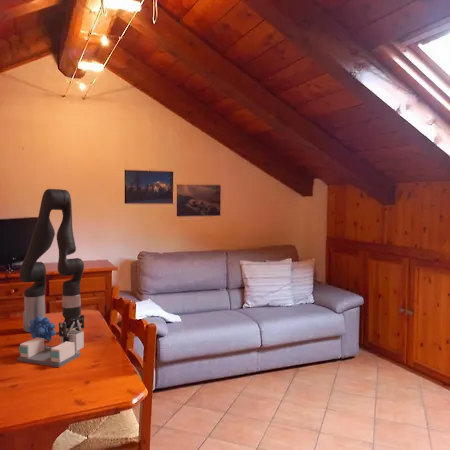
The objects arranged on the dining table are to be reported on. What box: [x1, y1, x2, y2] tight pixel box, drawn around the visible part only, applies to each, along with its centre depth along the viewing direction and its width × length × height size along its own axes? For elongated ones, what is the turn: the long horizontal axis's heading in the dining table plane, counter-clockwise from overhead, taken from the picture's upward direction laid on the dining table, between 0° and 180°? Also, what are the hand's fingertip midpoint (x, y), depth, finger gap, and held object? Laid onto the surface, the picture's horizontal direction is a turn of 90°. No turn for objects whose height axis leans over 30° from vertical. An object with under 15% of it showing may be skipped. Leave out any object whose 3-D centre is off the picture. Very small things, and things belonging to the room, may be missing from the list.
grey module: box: [60, 330, 85, 351], centre depth 190 cm, size 8×5×7 cm, turn 72°
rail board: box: [17, 337, 81, 368], centre depth 178 cm, size 20×13×6 cm, turn 72°
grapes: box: [28, 316, 57, 342], centre depth 196 cm, size 12×7×12 cm, turn 106°
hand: (72, 342), depth 190 cm, fingers open, 7 cm apart
